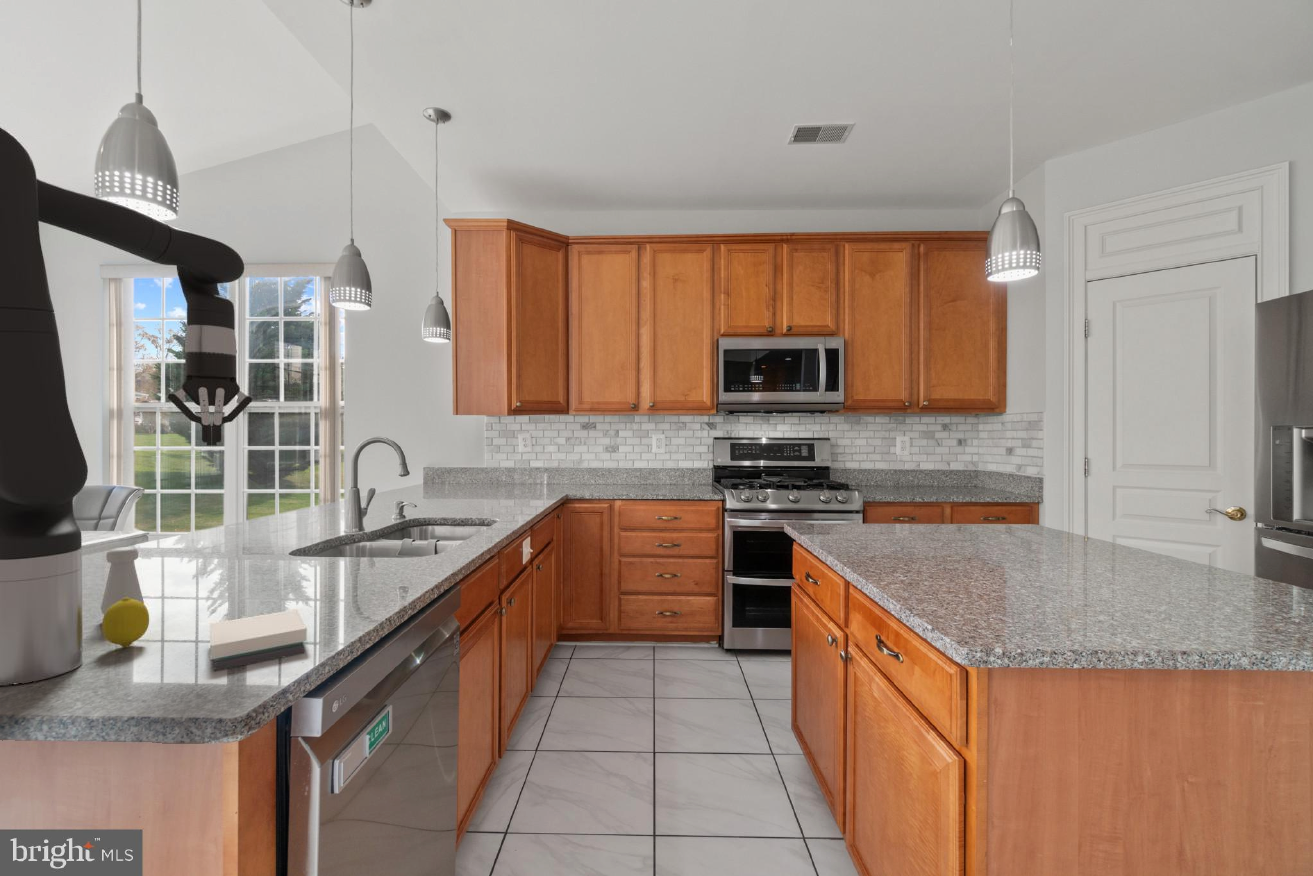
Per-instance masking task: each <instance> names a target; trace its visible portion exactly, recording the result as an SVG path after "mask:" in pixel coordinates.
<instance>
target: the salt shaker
mask: <svg viewBox="0 0 1313 876" xmlns="http://www.w3.org/2000/svg"><path fill="white" fill-rule="evenodd" d="M138 558H139V550H138V548H136V547H132V546H126V547H125V546H124V547H123V546H121V547H117V548H112V549H110V550H109V551H107V552H106V556H105V559H106V561H107V563H110V566H109V571H108V574H107V580H106V583H105V588H104V593H103V597H102V600H101V601H102V602H101V605H100V609H101V613H102V614H103V616H104V615H105V613H106V611H107V610H108V609H109V608H110V607H111V606H112V605H113V604H115V603H117V602H119V601H121V600H122V599H123V598H127V597H129V598H130V599H134V600H138V601H140V602H142V603H143V604H144V605H145V601H144V596H143V593H142V590H141V586H140V581H139V577H138V574H137V568H136V564H135V560H137V559H138Z"/></svg>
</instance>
